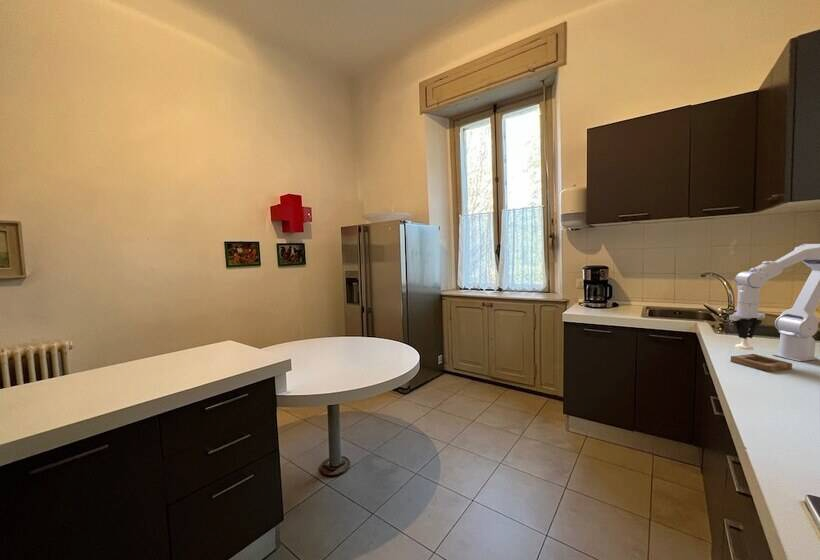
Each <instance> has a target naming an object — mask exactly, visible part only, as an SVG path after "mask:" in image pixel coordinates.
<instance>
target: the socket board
mask: <svg viewBox="0 0 820 560" xmlns="http://www.w3.org/2000/svg"><path fill="white" fill-rule="evenodd" d="M730 363H735V364H738V365H740V366H745V367H749V368H752V369H755V370H759V371H763V372H766V373H771V372H779V371H786V370H787V371H788V370H792V369H793V363H791V362H788V361H783V360H780V359H775V358H771V357H768V356H765V355H759V354H755V353H750V354H740V355H739V354H738V355H732V356H730Z"/></svg>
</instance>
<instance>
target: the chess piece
mask: <svg viewBox="0 0 820 560" xmlns="http://www.w3.org/2000/svg"><path fill="white" fill-rule="evenodd" d="M749 330H750V328H749ZM748 335H750V334H749V333H748ZM748 340H749V339H748V338H747V339H744V338H742V340H741V342H740V343H738V344H735V348H737V349H739V350H740V349H741V350H745V351H753V350H754V347H753V346H751V345H750V343H749V341H748Z"/></svg>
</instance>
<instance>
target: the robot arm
mask: <svg viewBox="0 0 820 560" xmlns="http://www.w3.org/2000/svg"><path fill="white" fill-rule="evenodd" d="M793 249H794V250H792V251H791V252H789V253H787V254H786V255H783V256H781V257H780V258H778V259H776V260H774V261H773V260H764V261H762V262H761V264H759V265H757V266H755V267H751V268H750V269H749V270H747V271H741V272H739V273H738V274H736V276H735V278H733V282H734V283H735V286H736V289H737V300H736V301H737V303H736V304H737V305H736V312H733V314H732V313H731V314H728V320H729V321H731V322H732V324H733V325H734V326H735V329H736V330H737V334H738V338H739V339H741V338H742V339H743V338H744V339H747V340H748V338H750V339H753V337H754V335H755V332H756V330H757V328H759V326H760V325H761V324H762V323H763V320H762V319H765V318H766V313H764V312H763V313H762V312H759V307H760V293H761V292H760V291H761V287H763V286H765V284H766V283H767V281H769V280H771V279H772V278H775V277H776V276H778V275H780V274H782V273H783V269H785V268H788V267H790V266H792V265H795V264H797V263H800V262H802V263H804V264H805V266H807V267H809V268H810V269H811V272H810V274H809V276H808V278H807V280H806V281H805V283H804V284H803V287H802V288H801V291H800V292H799V294H798V297H797V298H796V300H795V302H794V303H793V305H792V307H791V308H789V309H785V310H783V311H782V313H781V314H780V316H777V318H776V319H775V321H774V327H775V328H776V329H777V330H778V333H780V334H779V335H780V336H779V337H780V338H779V346H778V347H779V348H778V352H774V353H772V355H773V356H776V357H779V358H784V359H788V360H793V361H797V362H803V361H805V362H806V361H812V360H814V361H815V360H818V357H815V356H816V355H815V354H816V353H815V351H816V340H815V339H814V337H813V336H814V335H816V333H817V332H818V330H819V329H818V328H819V323H820V318H819V317H818V316H817V315H816V314H815V311H816V310H817V308H818V306H819V305H820V243H803V244H801V245H799V246H795V247H794V248H793ZM749 328H750V330H749ZM748 333H749V334H750V335H748Z"/></svg>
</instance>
